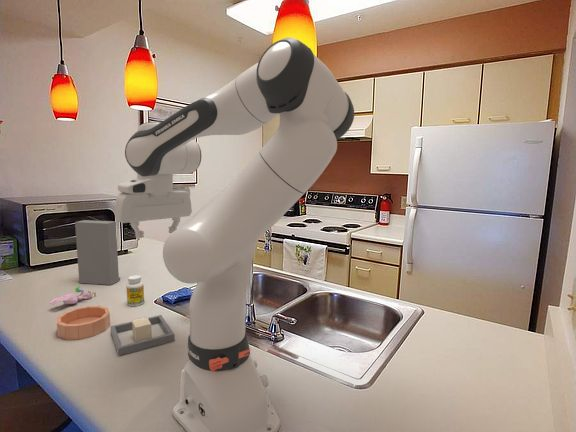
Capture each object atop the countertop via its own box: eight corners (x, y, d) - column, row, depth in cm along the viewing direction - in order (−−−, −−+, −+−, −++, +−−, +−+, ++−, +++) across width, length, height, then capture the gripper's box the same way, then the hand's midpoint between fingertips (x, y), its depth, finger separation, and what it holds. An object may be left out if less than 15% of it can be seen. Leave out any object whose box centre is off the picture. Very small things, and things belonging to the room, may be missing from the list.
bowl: (112, 331, 96) (111, 318, 95) (58, 344, 88) (56, 330, 88) (106, 314, 106) (106, 302, 106) (57, 324, 99) (56, 312, 98)
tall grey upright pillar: (120, 280, 138) (117, 221, 134) (111, 285, 131) (107, 223, 128) (89, 278, 139) (85, 219, 135) (78, 283, 133) (74, 222, 129)
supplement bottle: (142, 299, 119) (141, 273, 118) (145, 304, 115) (144, 278, 113) (126, 302, 116) (124, 276, 115) (128, 307, 112) (127, 280, 110)
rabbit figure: (86, 298, 122) (44, 307, 108) (88, 282, 122) (45, 289, 108) (98, 301, 120) (56, 310, 106) (100, 284, 120) (58, 292, 106)
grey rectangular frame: (174, 340, 92) (174, 333, 92) (118, 356, 84) (118, 348, 84) (161, 320, 103) (161, 314, 103) (110, 332, 95) (110, 326, 95)
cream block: (151, 338, 93) (151, 323, 92) (136, 343, 90) (135, 327, 90) (147, 331, 97) (147, 317, 96) (132, 335, 94) (132, 320, 94)
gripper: (183, 183, 99) (184, 228, 101) (111, 185, 83) (113, 238, 86) (195, 184, 94) (196, 232, 97) (121, 187, 79) (123, 243, 82)
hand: (156, 235), depth 91 cm, fingers open, 8 cm apart
